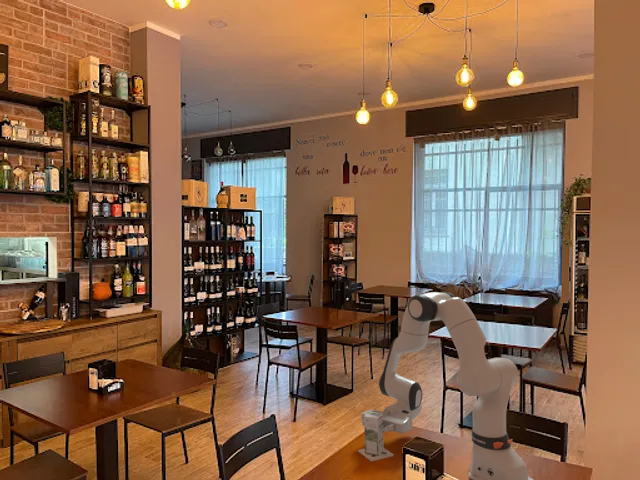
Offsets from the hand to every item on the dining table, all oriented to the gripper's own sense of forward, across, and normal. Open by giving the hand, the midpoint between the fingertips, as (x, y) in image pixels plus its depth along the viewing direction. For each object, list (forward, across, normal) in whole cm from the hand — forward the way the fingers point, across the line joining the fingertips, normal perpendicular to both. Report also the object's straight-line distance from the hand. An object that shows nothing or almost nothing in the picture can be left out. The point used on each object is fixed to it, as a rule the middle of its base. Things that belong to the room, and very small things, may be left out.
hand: (373, 426), depth 188 cm
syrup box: (-1, 0, +10) cm, 10 cm away
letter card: (-1, 0, +11) cm, 11 cm away
